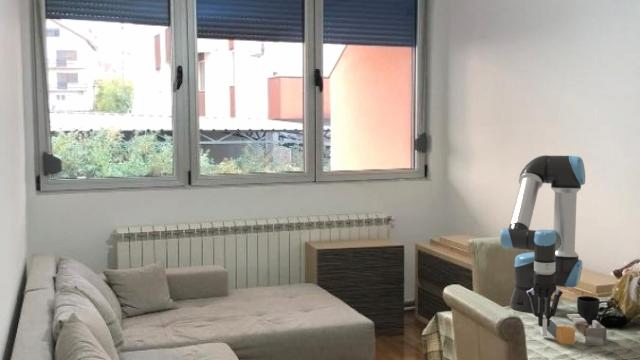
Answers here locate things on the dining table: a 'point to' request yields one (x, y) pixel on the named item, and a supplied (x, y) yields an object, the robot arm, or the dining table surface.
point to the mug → (590, 308)
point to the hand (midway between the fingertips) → (543, 334)
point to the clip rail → (589, 330)
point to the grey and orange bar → (562, 333)
